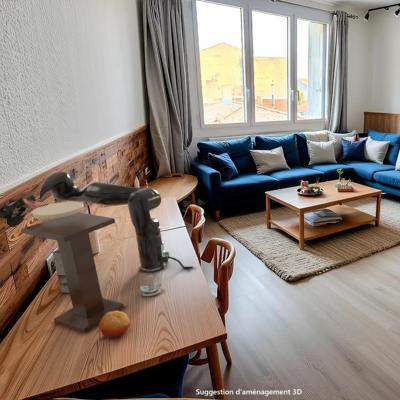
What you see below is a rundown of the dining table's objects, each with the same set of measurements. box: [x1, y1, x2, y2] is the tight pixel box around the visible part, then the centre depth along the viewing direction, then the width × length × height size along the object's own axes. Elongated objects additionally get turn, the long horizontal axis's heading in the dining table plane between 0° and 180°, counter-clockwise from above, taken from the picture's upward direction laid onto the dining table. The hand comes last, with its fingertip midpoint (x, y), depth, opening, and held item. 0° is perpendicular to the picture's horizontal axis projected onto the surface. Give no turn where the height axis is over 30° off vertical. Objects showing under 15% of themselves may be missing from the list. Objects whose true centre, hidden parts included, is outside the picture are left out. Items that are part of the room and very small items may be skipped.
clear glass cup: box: [139, 275, 163, 297], centre depth 124 cm, size 7×6×6 cm
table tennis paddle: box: [22, 199, 85, 220], centre depth 106 cm, size 25×13×2 cm, turn 67°
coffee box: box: [51, 248, 70, 294], centre depth 127 cm, size 9×6×16 cm
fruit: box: [98, 310, 131, 340], centre depth 102 cm, size 8×8×8 cm
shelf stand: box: [22, 212, 125, 334], centre depth 108 cm, size 18×16×32 cm
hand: (27, 199), depth 108 cm, fingers closed on table tennis paddle, 2 cm apart
